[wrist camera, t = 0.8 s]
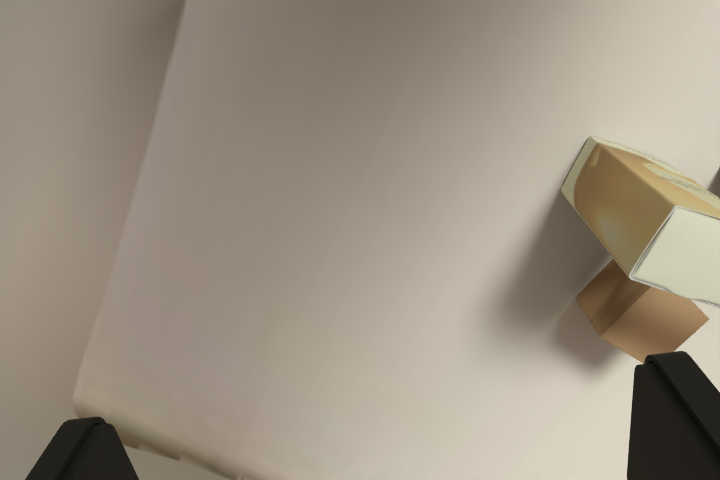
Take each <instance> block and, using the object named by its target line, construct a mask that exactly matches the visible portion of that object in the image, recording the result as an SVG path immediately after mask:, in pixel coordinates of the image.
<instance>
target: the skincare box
mask: <svg viewBox="0 0 720 480" xmlns="http://www.w3.org/2000/svg"><path fill="white" fill-rule="evenodd" d="M561 193H562V194H563V195H564V196H565V198H566V199H567V200H568V201H569V203H570V204H571V205H572V207H573V208H574V209H575V210H576V211H577V213H578V214H579V215H580V217H581V218H582V219H583V220H584V222H585V223H586V224H587V225H588V227H589V228H590V229H591V230H592V232H593V233H594V234H595V236H596V237H597V238H598V239H599V241H600V242H601V243H602V244H603V246H604V247H605V248H606V249H607V251H608V252H609V253H610V254H611V256H612V257H613V258H614V260H615V261H616V262H617V263H618V265H619V266H620V267H621V268H622V270H623V271H624V272H625V274H626V275H627V276H628V277H629V278H630V279H631V280H634V281H637V282H640V283H643V284H646V285H649V286H652V287H655V288H658V289H661V290H665V291H667V292H670V293H673V294H676V295H679V296H682V297H685V298H689V299H692V300H696V301H699V302H702V303H705V304H708V305H711V306H714V307H717V308H720V198H718V197H717V196H715V195H714V194H712V193H711V192H709V191H708V190H706V189H705V188H703V187H702V186H701V185H699V184H698V183H696V182H695V181H693V180H692V179H690V178H689V177H687V176H686V175H685V174H683V173H682V172H680V171H679V170H677V169H676V168H675V167H673V166H672V165H670V164H668V163H666V162H664V161H661V160H659V159H656V158H654V157H651V156H649V155H646V154H643V153H641V152H638V151H635V150H632V149H630V148H627V147H624V146H621V145H617V144H614V143H611V142H608V141H605V140H602V139H599V138H595V137H592V136H590V137H589V138H588V140H587V142H586V144H585V145H584V147H583V149H582V151H581V152H580V154H579V156H578V158H577V159H576V161H575V163H574V165H573V167H572V169H571V170H570V172H569V174H568V176H567V178H566V180H565V182H564V184H563V186H562V188H561Z"/></svg>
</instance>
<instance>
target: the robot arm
mask: <svg viewBox="0 0 720 480" xmlns="http://www.w3.org/2000/svg"><path fill="white" fill-rule="evenodd" d="M25 480H139V479H138V476H137V475H136V472H135V470H134V468H133V466H132V464H131V462H130V459H129V457H128V455H127V453H126V451H125V449H124V447H123V445H122V442H121V440H120V438H119V436H118V434H117V432H116V430H115V428H114V426H113V425H111V424H107V423H106V422H105V420H104V419H103V418H101V417H90V418H81V419H73V420H68V421H66V422H64V423H63V424H62V425H61V427H60V428H59V430H58V431H57V433H56V434H55V436H54V437H53V439H52V440H51V442H50V443H49V445H48V446H47V448H46V449H45V451H44V452H43V454H42V455H41V457H40V458H39V460H38V461H37V463H36V464H35V466H34V467H33V469H32V470H31V472H30V473H29V475H28V476H27V478H26V479H25ZM627 480H720V392H719V391H718V390H717V389H716V387H715V386H714V385H713V384H712V383H711V381H710V380H709V379H708V378H707V376H706V375H705V374H704V373H703V371H702V370H701V369H700V368H699V367H698V365H697V364H696V363H695V362H694V360H693V359H692V358H691V357H690V356H689V355H688V354H687V353H686V352H684V351H678V352H669V353H660V354H651V355H647V356H646V358H645V361H644V364H641V365H637V366H636V367H635V372H634V385H633V399H632V412H631V426H630V440H629V454H628V467H627Z"/></svg>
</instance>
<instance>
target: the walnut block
mask: <svg viewBox="0 0 720 480" xmlns="http://www.w3.org/2000/svg"><path fill="white" fill-rule="evenodd" d="M576 300H577V301H578V303H579V304H580V306H581V308H582V309H583V311H584V312H585V314H586V316H587V317H588V319H589V320H590V322H591V323H592V325H593V327H594V328H595V330H596V331H597V333H598V335H599V336H600V337H601V338H603V339H604V340H606V341H608V342H609V343H611V344H612V345H614V346H616V347H617V348H619V349H621V350H622V351H624V352H626V353H627V354H629V355H630V356H632V357H634V358H635V359H637V360H639V361H640V362H642V363H643V364H644V361H645V358H646V356H647V355H651V354H660V353H669V352H674V351H675V350H676V349H677V348H678V347H679V346H680V345H681V344H682V343H684V342H685V341H686V340H687V339H688V338H689V337H690V336H691V335H692V334H694V333H695V332H696V331H697V330H698V329H699V328H700V327H701V326H702V325H704V324H705V323H706V322H707V321H708V320H709V318H708V317H707V316H706V315H705V314H704V313H703V312H702V311H701V310H700V309H699V308H698V307H697V306H696V305H695V304H694V303H693V302H692V301H691V300H690V299H689V298H685V297H682V296H679V295H676V294H673V293H670V292H667V291H665V290H661V289H658V288H655V287H652V286H649V285H646V284H643V283H640V282H637V281H634V280H631V279H630V278H629V277H628V276H627V275H626V274H625V272H624V271H623V270H622V268H621V267H620V266H619V265H618V263H617V262H616V261H615V260H614V258H613V259H612V261H611V262H610V263H609V264H608V265H607V266H606V267H605V268H604V269H603V270H602V271H601V272H600V273H599V274H598V275H597V276H596V277H595V278H594V279H593V280H592V281H591V282H590V283H589V284H588V285H587V286H586V287H585V288H584V289H583V291H582V292H581V293H580V294H579V295H578V296H577V297H576Z"/></svg>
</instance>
